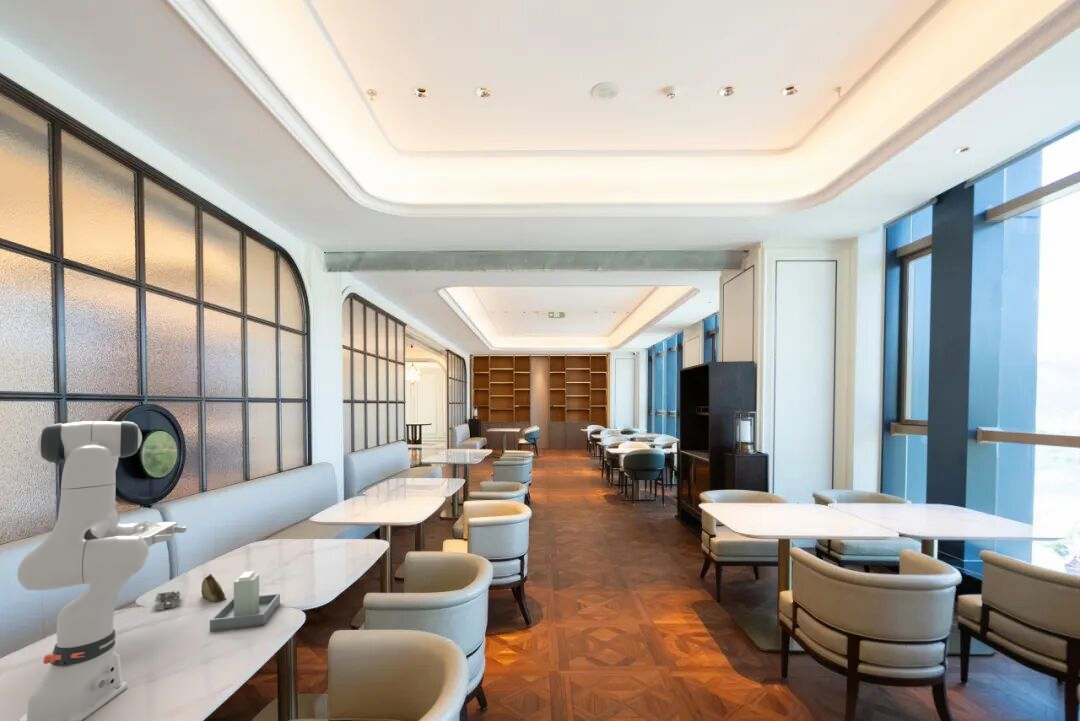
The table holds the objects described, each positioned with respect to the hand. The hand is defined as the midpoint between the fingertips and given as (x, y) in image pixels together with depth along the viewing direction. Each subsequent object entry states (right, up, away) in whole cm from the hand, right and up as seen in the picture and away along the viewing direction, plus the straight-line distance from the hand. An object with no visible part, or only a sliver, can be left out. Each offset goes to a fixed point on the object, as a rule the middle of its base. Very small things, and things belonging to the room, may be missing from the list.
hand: (178, 533), depth 175 cm
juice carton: (+22, -28, +2) cm, 36 cm away
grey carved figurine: (-15, -32, +16) cm, 39 cm away
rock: (-1, -32, +20) cm, 37 cm away
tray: (+22, -29, +2) cm, 37 cm away
